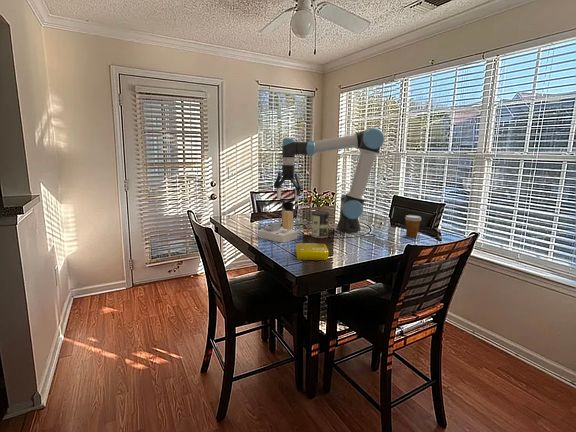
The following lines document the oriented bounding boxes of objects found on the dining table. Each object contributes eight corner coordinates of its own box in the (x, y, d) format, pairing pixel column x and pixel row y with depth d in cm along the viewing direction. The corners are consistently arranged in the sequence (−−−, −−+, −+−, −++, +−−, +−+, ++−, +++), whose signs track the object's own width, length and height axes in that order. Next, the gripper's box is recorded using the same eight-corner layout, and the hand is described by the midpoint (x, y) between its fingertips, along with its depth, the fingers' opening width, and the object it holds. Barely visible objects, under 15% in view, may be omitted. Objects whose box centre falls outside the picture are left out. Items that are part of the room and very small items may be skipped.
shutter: (280, 229, 202) (280, 222, 201) (272, 231, 197) (272, 224, 196) (271, 227, 206) (271, 220, 205) (263, 229, 201) (263, 222, 200)
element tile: (324, 251, 176) (325, 242, 175) (328, 260, 161) (329, 251, 160) (295, 251, 176) (296, 242, 175) (296, 260, 161) (297, 250, 160)
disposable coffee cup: (420, 234, 213) (422, 215, 210) (419, 238, 204) (421, 218, 202) (404, 232, 217) (406, 214, 214) (402, 236, 208) (404, 216, 206)
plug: (291, 232, 213) (292, 211, 211) (287, 233, 210) (288, 212, 208) (286, 231, 216) (286, 210, 213) (282, 232, 212) (282, 211, 210)
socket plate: (297, 237, 200) (297, 231, 199) (282, 242, 189) (283, 235, 188) (273, 232, 210) (273, 226, 209) (258, 237, 199) (258, 230, 198)
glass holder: (279, 223, 236) (279, 202, 233) (298, 222, 240) (299, 201, 237) (283, 226, 228) (283, 204, 225) (303, 225, 232) (303, 203, 229)
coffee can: (328, 234, 210) (329, 211, 207) (327, 238, 200) (328, 214, 197) (312, 233, 212) (312, 210, 209) (309, 237, 202) (310, 213, 199)
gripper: (268, 163, 209) (268, 198, 213) (302, 165, 194) (301, 202, 198) (275, 163, 215) (275, 197, 219) (309, 165, 200) (308, 201, 204)
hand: (287, 199), depth 209 cm, fingers open, 13 cm apart
